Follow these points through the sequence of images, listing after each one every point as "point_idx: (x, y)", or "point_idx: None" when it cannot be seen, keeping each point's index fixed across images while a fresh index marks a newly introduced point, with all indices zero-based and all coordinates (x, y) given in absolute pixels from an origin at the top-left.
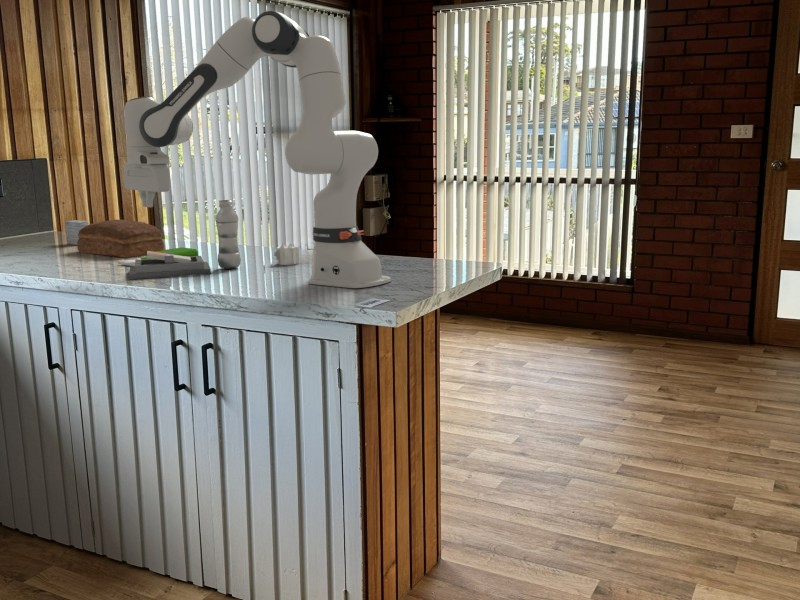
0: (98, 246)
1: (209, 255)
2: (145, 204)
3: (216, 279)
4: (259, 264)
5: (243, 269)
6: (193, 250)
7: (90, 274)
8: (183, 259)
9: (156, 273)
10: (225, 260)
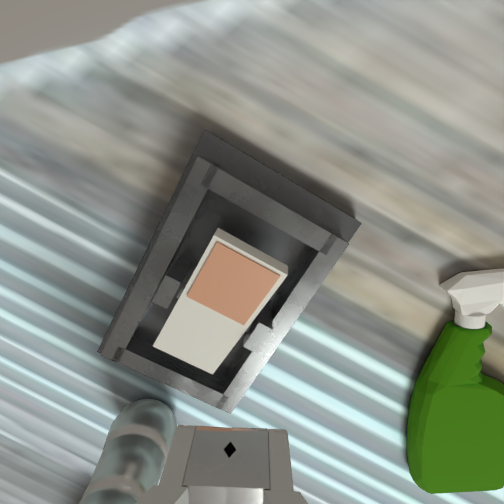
0: None
1: (400, 495)
2: (217, 444)
3: (8, 305)
4: None
5: None
6: (421, 480)
7: (442, 93)
8: (162, 328)
9: (164, 214)
10: (118, 418)
